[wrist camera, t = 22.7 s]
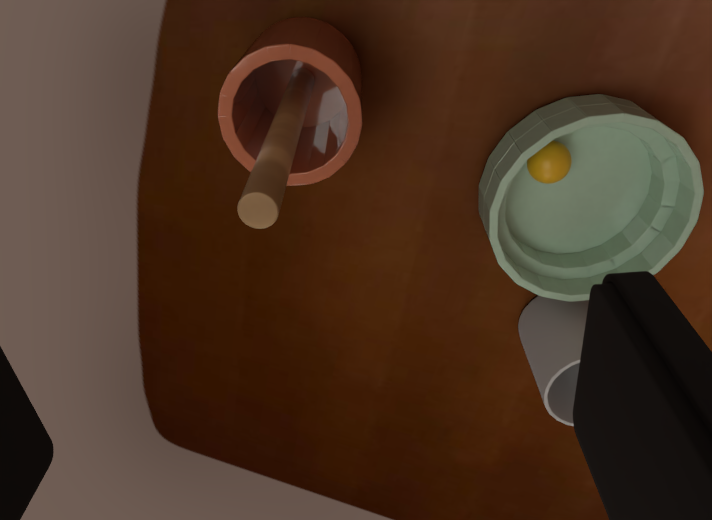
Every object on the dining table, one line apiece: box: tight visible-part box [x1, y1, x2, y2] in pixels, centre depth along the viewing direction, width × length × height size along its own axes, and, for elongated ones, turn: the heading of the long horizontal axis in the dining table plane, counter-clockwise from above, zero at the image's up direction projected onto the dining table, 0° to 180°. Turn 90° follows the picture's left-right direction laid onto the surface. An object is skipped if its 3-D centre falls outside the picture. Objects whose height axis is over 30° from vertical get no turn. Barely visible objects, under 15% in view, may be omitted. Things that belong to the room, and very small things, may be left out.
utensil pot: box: [218, 17, 363, 186], centre depth 36 cm, size 8×8×9 cm
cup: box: [518, 295, 589, 426], centre depth 47 cm, size 7×10×9 cm
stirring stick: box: [237, 68, 314, 229], centre depth 31 cm, size 2×2×20 cm
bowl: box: [479, 94, 704, 302], centre depth 42 cm, size 14×14×5 cm
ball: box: [527, 141, 572, 184], centre depth 41 cm, size 3×3×3 cm
